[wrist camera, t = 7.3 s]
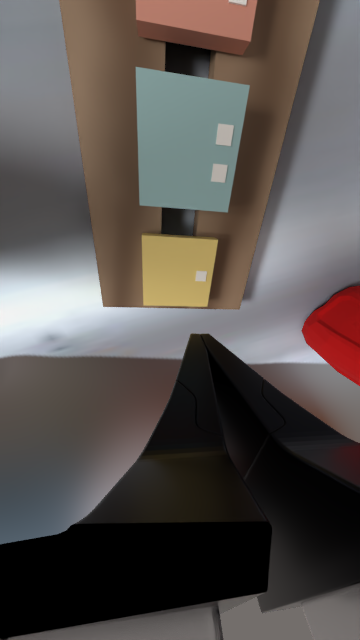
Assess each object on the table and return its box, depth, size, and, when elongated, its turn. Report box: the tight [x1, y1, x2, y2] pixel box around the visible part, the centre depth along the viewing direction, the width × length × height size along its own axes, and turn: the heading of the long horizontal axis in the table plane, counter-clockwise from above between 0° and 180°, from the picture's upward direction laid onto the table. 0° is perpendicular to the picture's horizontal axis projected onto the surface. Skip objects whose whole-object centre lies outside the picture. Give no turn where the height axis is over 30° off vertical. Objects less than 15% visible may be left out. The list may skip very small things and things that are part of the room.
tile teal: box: [136, 67, 250, 212], centre depth 13 cm, size 6×6×3 cm
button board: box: [59, 0, 320, 309], centre depth 15 cm, size 14×24×2 cm, turn 176°
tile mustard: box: [142, 233, 218, 307], centre depth 18 cm, size 6×6×3 cm
